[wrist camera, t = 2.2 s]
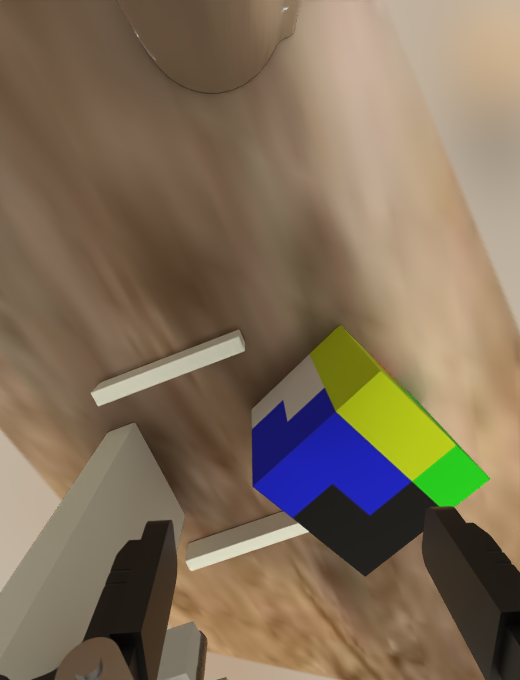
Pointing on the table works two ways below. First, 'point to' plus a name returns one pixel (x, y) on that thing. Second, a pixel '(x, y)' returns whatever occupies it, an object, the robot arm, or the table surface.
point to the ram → (201, 657)
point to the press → (114, 537)
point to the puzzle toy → (355, 454)
